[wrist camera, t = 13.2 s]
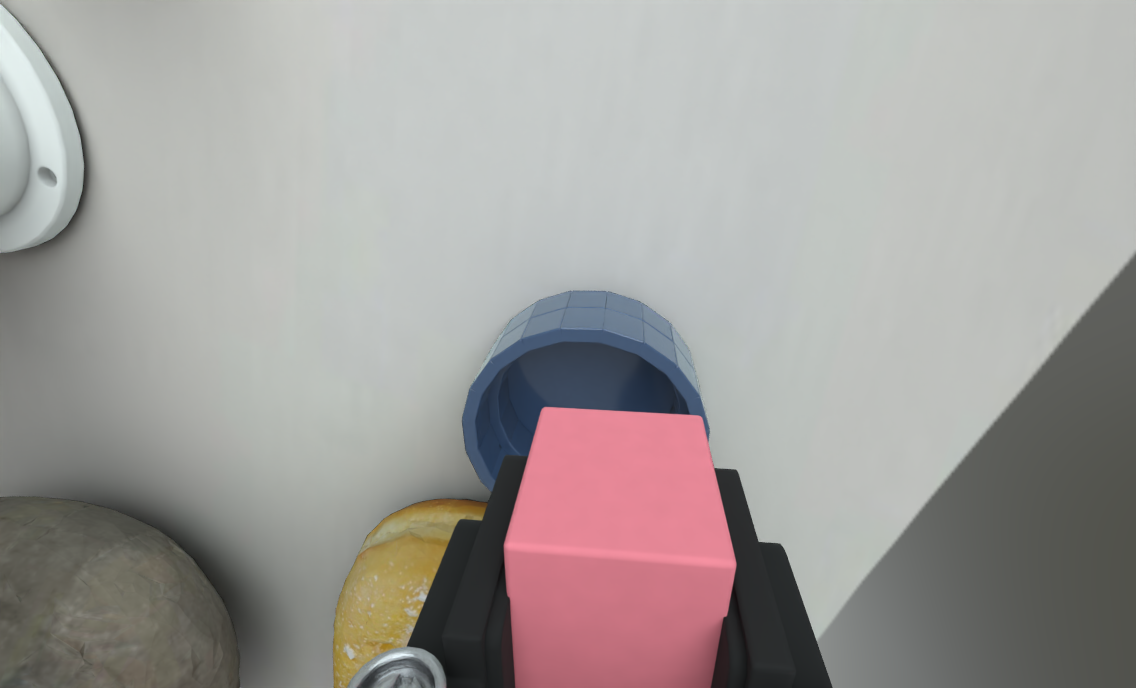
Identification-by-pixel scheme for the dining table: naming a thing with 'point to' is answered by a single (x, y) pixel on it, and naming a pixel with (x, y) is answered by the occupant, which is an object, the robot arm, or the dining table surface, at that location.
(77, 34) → the dining table surface
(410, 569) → the bread
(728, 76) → the dining table surface
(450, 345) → the dining table surface
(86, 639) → the clay pot
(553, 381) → the bowl
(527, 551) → the eraser
